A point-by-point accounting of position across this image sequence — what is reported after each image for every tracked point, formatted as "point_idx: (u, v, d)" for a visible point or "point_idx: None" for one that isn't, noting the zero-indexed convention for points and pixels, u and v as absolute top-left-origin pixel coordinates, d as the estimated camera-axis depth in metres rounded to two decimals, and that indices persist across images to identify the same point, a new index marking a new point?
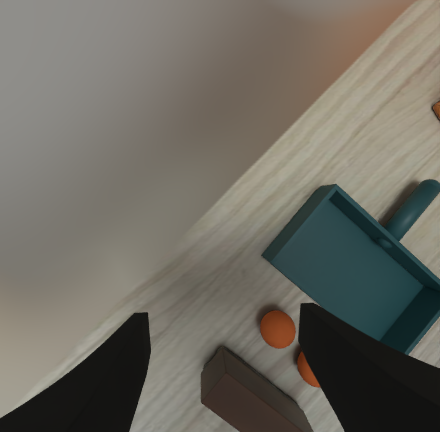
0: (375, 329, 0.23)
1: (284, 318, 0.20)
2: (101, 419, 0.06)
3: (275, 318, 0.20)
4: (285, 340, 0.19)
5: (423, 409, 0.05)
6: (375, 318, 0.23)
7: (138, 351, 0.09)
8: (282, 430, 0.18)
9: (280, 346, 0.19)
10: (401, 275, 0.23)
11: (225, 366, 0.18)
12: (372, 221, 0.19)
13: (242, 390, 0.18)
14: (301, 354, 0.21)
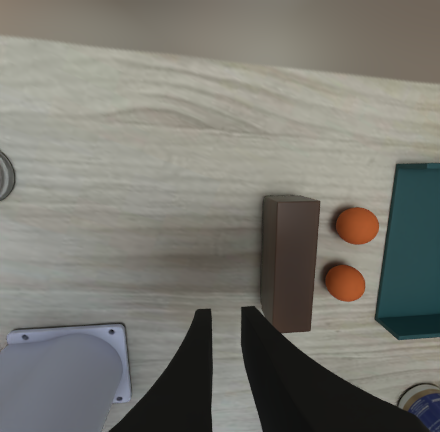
0: (395, 306, 0.22)
1: (377, 220, 0.18)
2: None
3: (372, 213, 0.18)
4: (368, 233, 0.18)
5: (298, 421, 0.05)
6: (404, 299, 0.22)
7: (211, 346, 0.09)
8: (301, 291, 0.17)
9: (357, 235, 0.18)
10: None
11: (315, 200, 0.16)
12: None
13: (314, 228, 0.16)
14: (343, 265, 0.20)
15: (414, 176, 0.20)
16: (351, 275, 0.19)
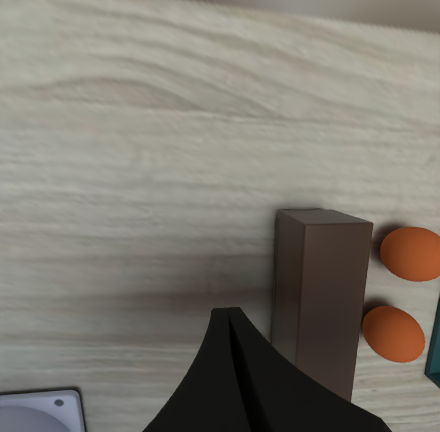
0: None
1: None
2: None
3: (439, 236, 0.12)
4: (436, 269, 0.12)
5: (265, 424, 0.05)
6: None
7: None
8: (338, 359, 0.11)
9: (419, 270, 0.12)
10: None
11: (362, 220, 0.10)
12: None
13: (361, 265, 0.10)
14: (389, 307, 0.14)
15: None
16: (405, 326, 0.13)
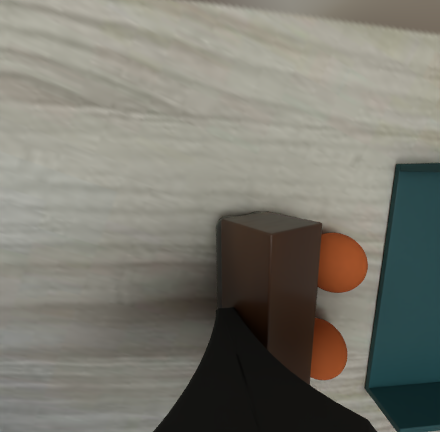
0: (394, 372, 0.15)
1: (365, 256, 0.11)
2: None
3: (356, 244, 0.11)
4: (349, 279, 0.11)
5: (252, 425, 0.05)
6: (407, 361, 0.15)
7: None
8: (299, 368, 0.10)
9: (331, 281, 0.11)
10: None
11: (308, 220, 0.10)
12: None
13: (314, 268, 0.10)
14: None
15: (423, 183, 0.13)
16: (324, 341, 0.12)
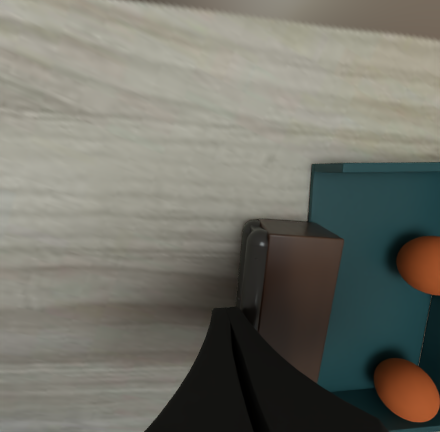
0: (324, 378, 0.15)
1: None
2: None
3: None
4: None
5: (263, 425, 0.05)
6: (338, 367, 0.15)
7: None
8: None
9: None
10: (410, 352, 0.15)
11: (304, 222, 0.13)
12: None
13: None
14: (399, 358, 0.14)
15: (340, 184, 0.12)
16: (427, 374, 0.13)
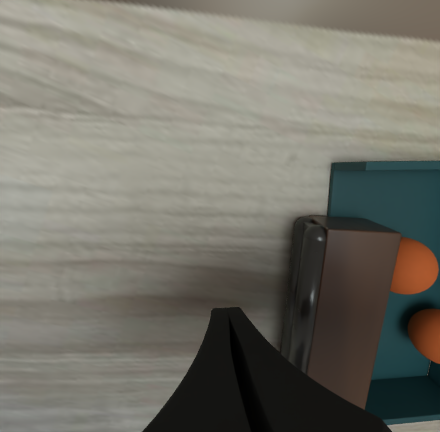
0: None
1: (419, 269, 0.11)
2: None
3: (409, 253, 0.11)
4: None
5: (265, 424, 0.05)
6: None
7: None
8: None
9: None
10: None
11: (353, 218, 0.13)
12: None
13: None
14: None
15: (359, 182, 0.13)
16: None
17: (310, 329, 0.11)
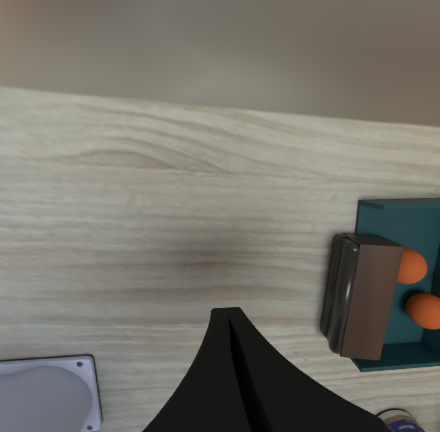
0: None
1: (416, 268, 0.18)
2: None
3: (410, 259, 0.19)
4: None
5: (265, 424, 0.05)
6: None
7: None
8: None
9: None
10: None
11: (372, 235, 0.20)
12: None
13: None
14: None
15: (376, 212, 0.20)
16: None
17: (347, 305, 0.19)
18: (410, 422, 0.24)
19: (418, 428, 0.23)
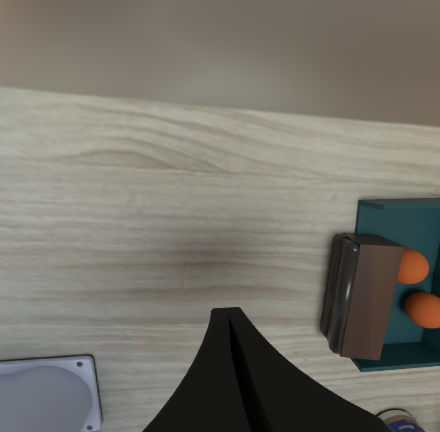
0: None
1: (420, 268, 0.18)
2: None
3: (414, 259, 0.18)
4: None
5: (265, 424, 0.05)
6: None
7: None
8: None
9: None
10: None
11: (372, 235, 0.20)
12: None
13: None
14: None
15: (376, 212, 0.20)
16: None
17: (347, 305, 0.19)
18: (410, 422, 0.24)
19: (418, 428, 0.23)
